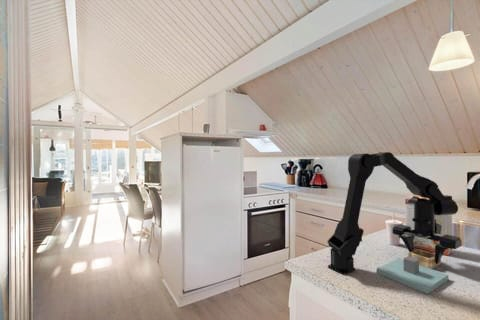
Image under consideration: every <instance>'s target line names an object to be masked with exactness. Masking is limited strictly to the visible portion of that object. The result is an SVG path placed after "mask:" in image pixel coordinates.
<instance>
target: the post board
mask: <svg viewBox="0 0 480 320" xmlns="http://www.w3.org/2000/svg"><path fill="white" fill-rule="evenodd" d="M376 274H378V275H381V276H383V277H385V278H388V279H390V280H393V281H395V282H398V283H400V284H403V285H405V286H407V287H410V288H411V289H413V290H414V289H415V290H417V291H420V292H422V293H424V294H427V295H428V294H430V293H431V292H433V291H434V290H436V289H437V288H439V287H440V286H441V285H443V284H445V282H447V281H449V274H447V273H444V272H442V271H438V270H435V269H430V268H427V267H424V266H421V265H419V259H416V258H412V257H409V256H406V257H403V259H402V258H397V259H394V260H392V261H389V262H388V263H386V264H383V265H381V266H378V267H376Z"/></svg>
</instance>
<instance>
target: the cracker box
mask: <svg viewBox="0 0 480 320" xmlns="http://www.w3.org/2000/svg"><path fill="white" fill-rule="evenodd" d="M413 196H414V195H413V194H412V195H411V194H410V195H407V196H405V199H404V200H405V201H404V203H405V226H410V228H411V230H413V229H414V221H412V218H414V203H409V202H408V200H410V199H411V198H412V197H413ZM415 196H416V197H419V198H423V197H420V196H418V195H415ZM426 199H428V198H426ZM428 200H429V199H428ZM452 217H453V215H435V219H436V223H437V224H440V225H442V229H441V234H435V235H437V236H444V235H451V236H453V218H452ZM420 235H421V234H420ZM428 237H430V236H428ZM413 242H414V248H417V249H420V250H424V251H427V252H431V253H435V245H438V241H434V240H430V239H426V238H422V237H418V236H414V240H413ZM451 253H453V249H451V248H449V249H447V250H445V251H444V253H443V254H442V255H444V256H449V255H450V254H451Z"/></svg>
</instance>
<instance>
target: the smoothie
mask: <svg viewBox="0 0 480 320" xmlns="http://www.w3.org/2000/svg"><path fill="white" fill-rule="evenodd" d="M384 222H385V225H386V227H385V228H386V234H387V240H388V244H389V245H391V246H395V247H398V246H400V242H401V238H399V236H400V235H396V234H393V233H392V229H393V227H394V226H397V225H400V224H401V225H404V224H403V222H402V221H400V220H397V219H395V211H392V219H386V220H385V221H384Z"/></svg>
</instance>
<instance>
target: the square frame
mask: <svg viewBox="0 0 480 320" xmlns="http://www.w3.org/2000/svg"><path fill="white" fill-rule="evenodd" d="M407 255H408V256H409V257H412V258H416V259H419V265H420V266H423V267H426V268H429V269H432V270H434V269H435V268H436V267H437V266H440V265H441V264H442V258H441V259H440V261H439V263H438V264H436V262H435V252H432V251H428V250H424V249H420V248H417V249H414V251H412V252H409V251H408V254H407ZM408 256H407V257H408Z"/></svg>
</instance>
